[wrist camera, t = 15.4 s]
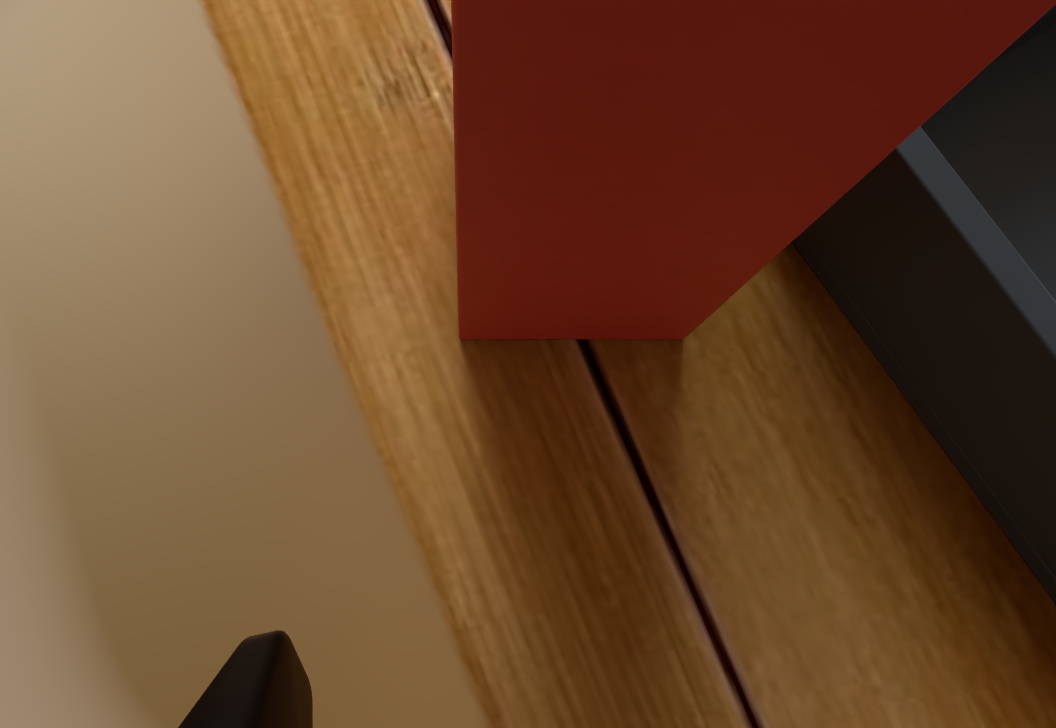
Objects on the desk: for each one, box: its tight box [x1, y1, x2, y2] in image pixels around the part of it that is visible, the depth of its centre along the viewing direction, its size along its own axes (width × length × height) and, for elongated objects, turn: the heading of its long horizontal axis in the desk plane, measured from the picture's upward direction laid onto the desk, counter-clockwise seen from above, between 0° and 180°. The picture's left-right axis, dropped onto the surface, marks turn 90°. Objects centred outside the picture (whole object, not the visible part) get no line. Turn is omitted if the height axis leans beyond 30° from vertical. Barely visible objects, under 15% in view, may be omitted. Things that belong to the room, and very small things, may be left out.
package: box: [451, 0, 1056, 339], centre depth 12 cm, size 6×5×13 cm
